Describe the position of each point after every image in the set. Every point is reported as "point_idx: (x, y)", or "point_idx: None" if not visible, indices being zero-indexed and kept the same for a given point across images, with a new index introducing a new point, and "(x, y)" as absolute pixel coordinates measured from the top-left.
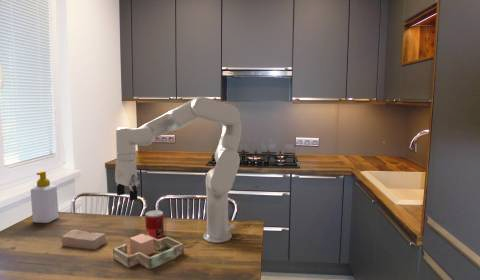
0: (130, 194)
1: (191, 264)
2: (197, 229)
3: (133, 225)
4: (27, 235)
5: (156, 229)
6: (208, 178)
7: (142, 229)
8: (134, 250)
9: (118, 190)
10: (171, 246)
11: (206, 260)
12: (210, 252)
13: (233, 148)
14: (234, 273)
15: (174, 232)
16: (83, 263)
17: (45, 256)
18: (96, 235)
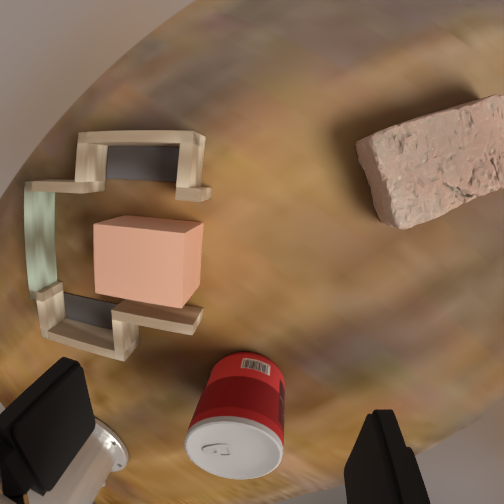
0: (20, 395)
1: (7, 278)
2: (177, 466)
3: (409, 394)
4: None
5: (204, 388)
6: None
7: (347, 394)
8: (164, 221)
9: (381, 467)
10: (101, 332)
11: (5, 316)
12: (30, 359)
13: None
14: None
15: None
16: (268, 42)
17: (436, 16)
18: (412, 186)
